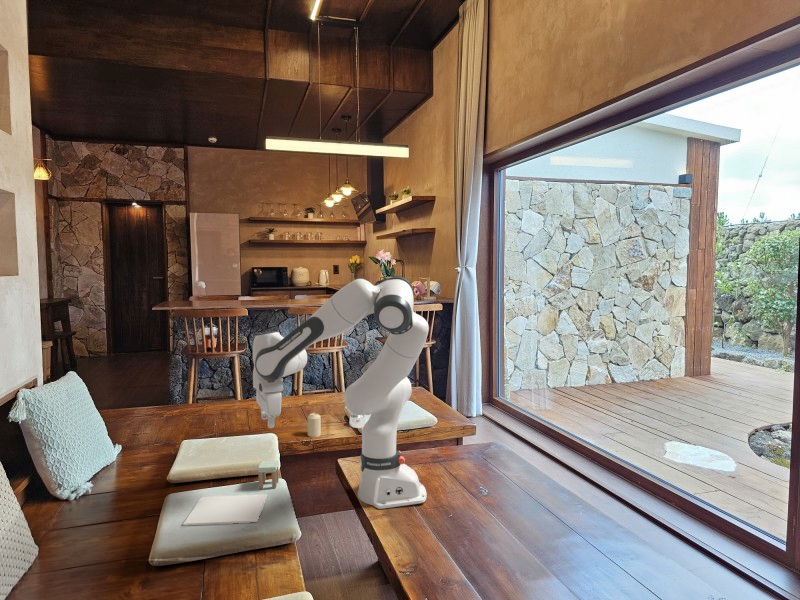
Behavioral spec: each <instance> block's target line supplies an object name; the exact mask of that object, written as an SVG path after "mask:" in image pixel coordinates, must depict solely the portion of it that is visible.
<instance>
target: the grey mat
mask: <svg viewBox="0 0 800 600" xmlns="http://www.w3.org/2000/svg"><path fill="white" fill-rule="evenodd" d="M268 495H269V494H268V493H267V494H265V493H264V494H263V493H262V494H243V495H242V494H241V495H239V494H238V495H214V496H211V495H210V496H201V497H200V498H199V500H198V501H197V503H196V504H195V505H194V506H193V509H192V510H191V511H190V513H189V515H188V516H187V518H186V519H185V520H184V522H182V523H183V524H182V525H183V527H186V526H187V527H190V526H212V525H213V526H215V525H233V523H239V524H251V523H250V522H257V521H258V522H259V520H258V519H260V517H259V516H261V515H262V511H263V509H264V506H265V503H266V501H267V498H268ZM258 522H257V523H258Z"/></svg>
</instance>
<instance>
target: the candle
mask: <svg viewBox="0 0 800 600" xmlns="http://www.w3.org/2000/svg"><path fill="white" fill-rule="evenodd" d="M321 421H322V418H321V415H320V414H319V413H317V412H313V413H309V414H308V416H307V436H308V437H310V438H319V437H320V436H321V435H322V431H321V430H322V427H321V426H322V425H321V423H322V422H321Z"/></svg>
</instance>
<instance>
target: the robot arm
mask: <svg viewBox="0 0 800 600" xmlns="http://www.w3.org/2000/svg"><path fill="white" fill-rule="evenodd" d="M414 298H415V291H414V288H413V286H412V284H411V282H410V281H409V280H408V279H407V278H405V277H402V276H391V277H388V278H386V279H385V278H384V279H380V280H377V281H376V282H375V284H372V282H370V281H369V280H368V279H367V280H366V279H365V278H357V279H354V280H353V281H350V282H349V283H347V284H345V285H344V286H342V288H340V289H339V290H338V291H336V292H335V293H334V294H333V295H331V297H330V298H328V299H327V300H326V301H325V302H324V303H323V304H322V305H321V306H320V307H319V308H318V309H317V310H316V311H314V313H312V314H311V315H310V316H309V317H308V318H307V319H306V320H305V321H303V322H302V323H301V324H300V325H298V326H297V327H296V328H294V329H293V330H292V331H291V332H290V333H288V334H287V335H286V336H285V337H284V336H283V335H281V334H280V332H279V331H275V330H273V331H266V332H260V333H257V334H256V335H255V336H254V339H253V343H252V362H253V370H252V387H253V388H254V389H255V390H256V391H255V392H256V393H255V394H256V396H255V398H256V399H255V400H256V404H257V405H259V407H260V413H261V419H262V420H263V421H264V420H267V427H268V428H269V429H273V428H275V421H276V417H280V415H281V412H282V398H283V397H282V392H283V391H284V384H283V382H282V378H283V377H287V376H291V375H292V374H295V373H297V372H300V371H302V370H304V369H305V367H306V366H307V365H308V359H309V358H308V357H309V356H308V355H309V354H308V353H307V350H306V349H307V348H309V347H310V346H311V345H313V344H315V343H318V342H321V341H323V340H328V339H331V338H334V337H338V336H340V335H342V334H344V333H346V332H348V331H349V330H351V329H352V328H354V327H355V326H356V325H357V324H358V323H360V322H361V321H362V320H363V319H364V318H366V317H367V316H370V315H372V314H373V316H374V320H375V322H376V324H377V325H378V327H381V328H382V329H383V330H385V331H387V332H389V334H388V336H387V338H386V340H385V343H384V344H383V346H382V348H381V349H380V351H379V353H378V355H377V357H376V359H375V360H374V361H373V362H372V364H371V365H369V367H368V368H367V369H366V370H365V372H364V373H363V374H362V375H360V377H359V378H358V379H356V381H354V382H353V383H351V384H350V385H348V386H347V387H346V389H345V391H344V396H343V401H344V405H345V407H346V409H347V410H348V411H349V413H350V414H351V415H353V414H354V415H364V416H369V418H368V420H367V421H366V423H365V425H364V427H362V430H361V452H360V457H359V458H360V461H359V462H360V463H359V464H360V465H359V466H360V471H361V474H360V481H359V486H358V491H357V498H358V499H359V500H360V501H362V502H363V503H365V504H367V505H371V506H373V507H374V508H376V509H379V510H380V509H381V510H382V509H388V508H396V507H405V506H410V505H417V504H423V503H424V502H425V501H427V497H428V496H427V495H428V493H427V489H426V487H425V486H424V485H423V483H421V482H420V480H419V476H418V474H417V472H416V471H415V470H414V469H413V468H412V467H410V466H408V465H407V464H405V462H406V459H405V457H404V456H403V454H402V452H401V451H400V450H397V433H398V425H399V420H400V418H401V415H402V412H403V409H404V407H405V405H406V403H407V402H408V401H409V399H410V398H411V396H412V392H413V389H412V383H411V381H410V379H409V378H408V376H409V375H410V373H411V372H412V369H413V368H414V366H415V364H416V362H417V360H418V358H419V357H420V354H421V353H422V350H423V348H424V347H425V345H426V344H425V343H426V341H427V337H428V335H429V333H430V332H429V331H430V326H429V323H428V321H427V319H425V318H424V317H423V316H421V314H418V313H416V312H415V311H414V303H415V301H414V300H415V299H414Z"/></svg>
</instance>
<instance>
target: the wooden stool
mask: <svg viewBox="0 0 800 600" xmlns="http://www.w3.org/2000/svg"><path fill="white" fill-rule="evenodd" d="M257 470H258V471H257V473H258V489H259V488H263V489H264V484H266V482H267V479H266V474H267V473H271V489H277V483H279V460H262V461H260V464H259V465H258V469H257ZM265 481H266V482H265Z"/></svg>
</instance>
